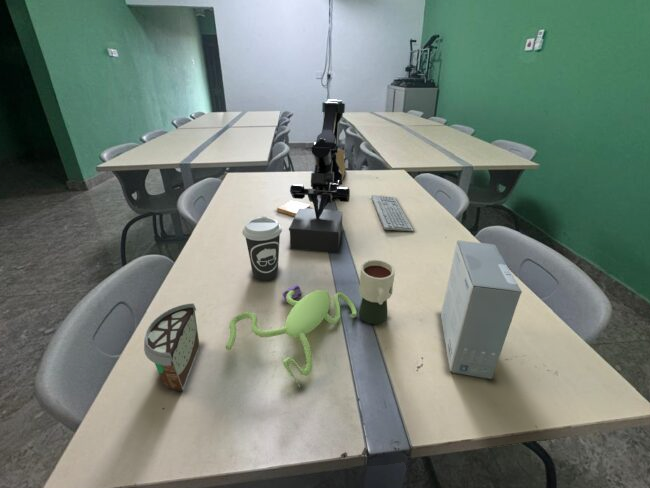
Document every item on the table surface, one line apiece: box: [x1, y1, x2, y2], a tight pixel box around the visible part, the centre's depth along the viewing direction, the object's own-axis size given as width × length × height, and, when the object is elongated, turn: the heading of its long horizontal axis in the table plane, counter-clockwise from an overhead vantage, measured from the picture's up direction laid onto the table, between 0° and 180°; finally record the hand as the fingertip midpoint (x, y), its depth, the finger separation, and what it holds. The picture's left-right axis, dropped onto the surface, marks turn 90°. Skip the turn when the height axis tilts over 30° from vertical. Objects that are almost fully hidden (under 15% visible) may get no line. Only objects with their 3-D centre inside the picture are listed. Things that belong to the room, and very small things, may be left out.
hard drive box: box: [440, 240, 523, 380], centre depth 61 cm, size 16×8×20 cm, turn 170°
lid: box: [288, 208, 344, 234], centre depth 98 cm, size 15×15×1 cm
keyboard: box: [371, 194, 414, 232], centre depth 121 cm, size 29×10×2 cm, turn 3°
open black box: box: [289, 213, 344, 254], centre depth 100 cm, size 14×15×7 cm
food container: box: [143, 303, 201, 392], centre depth 56 cm, size 12×6×10 cm, turn 5°
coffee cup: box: [242, 216, 283, 282], centre depth 81 cm, size 10×10×15 cm
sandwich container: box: [336, 149, 347, 178], centre depth 160 cm, size 9×15×15 cm, turn 172°
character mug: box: [358, 259, 396, 325], centre depth 68 cm, size 11×7×13 cm, turn 4°
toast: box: [276, 199, 311, 217], centre depth 121 cm, size 9×9×2 cm
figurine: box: [225, 283, 358, 388], centre depth 66 cm, size 18×27×6 cm
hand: (317, 218), depth 98 cm, fingers closed, pressing on lid
